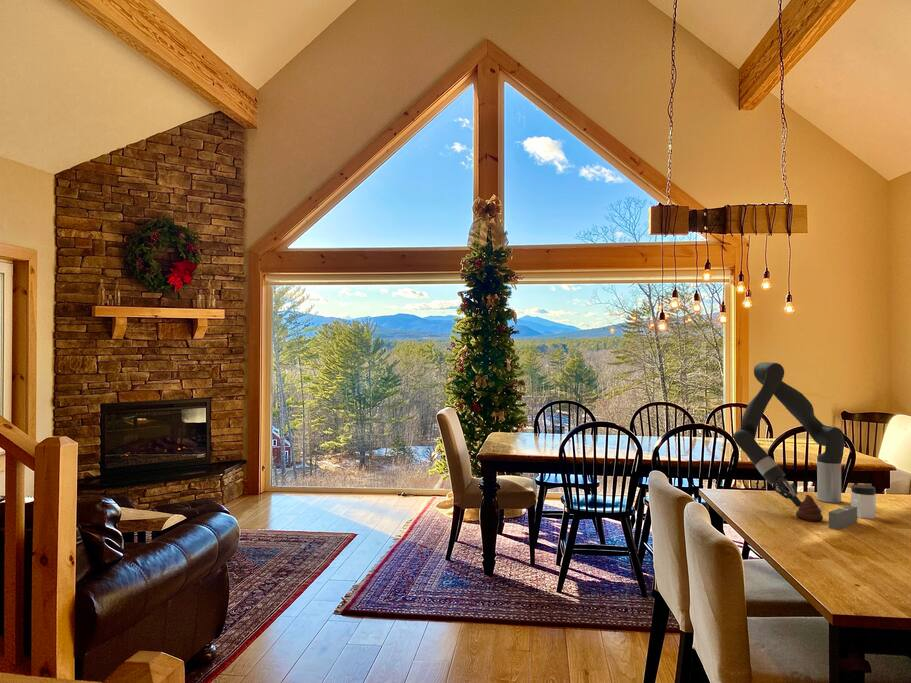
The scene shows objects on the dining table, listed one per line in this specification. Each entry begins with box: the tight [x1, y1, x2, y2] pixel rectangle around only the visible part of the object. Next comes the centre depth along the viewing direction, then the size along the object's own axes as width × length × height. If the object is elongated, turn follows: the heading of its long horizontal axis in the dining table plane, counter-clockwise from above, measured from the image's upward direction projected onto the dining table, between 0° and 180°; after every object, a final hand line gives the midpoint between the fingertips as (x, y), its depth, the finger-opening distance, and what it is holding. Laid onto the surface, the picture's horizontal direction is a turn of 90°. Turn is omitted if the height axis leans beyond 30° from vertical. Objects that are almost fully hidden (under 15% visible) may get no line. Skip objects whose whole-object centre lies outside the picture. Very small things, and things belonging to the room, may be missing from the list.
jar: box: [850, 484, 877, 520], centre depth 253 cm, size 9×8×12 cm
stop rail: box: [828, 505, 858, 531], centre depth 239 cm, size 18×3×6 cm, turn 127°
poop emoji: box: [795, 494, 824, 523], centre depth 248 cm, size 10×8×9 cm
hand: (800, 505), depth 251 cm, fingers closed
